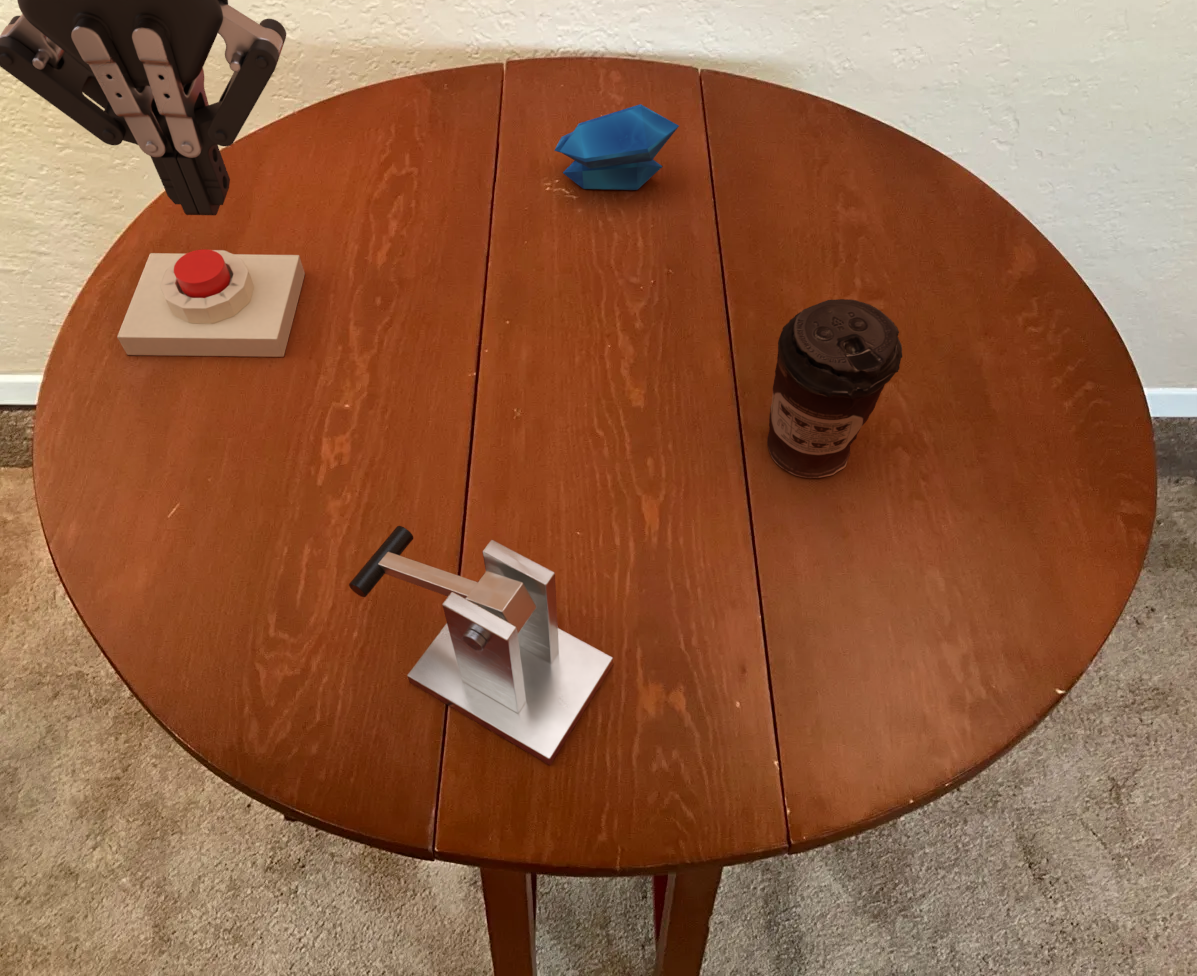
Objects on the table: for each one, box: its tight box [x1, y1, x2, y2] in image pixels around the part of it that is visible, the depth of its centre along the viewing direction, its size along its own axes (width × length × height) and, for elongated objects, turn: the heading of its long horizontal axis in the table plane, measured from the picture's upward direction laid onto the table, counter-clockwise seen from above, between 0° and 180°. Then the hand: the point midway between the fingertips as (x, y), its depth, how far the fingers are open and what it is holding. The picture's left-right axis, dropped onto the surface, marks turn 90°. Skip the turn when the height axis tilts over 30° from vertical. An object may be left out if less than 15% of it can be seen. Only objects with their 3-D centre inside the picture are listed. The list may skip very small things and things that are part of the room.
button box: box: [117, 249, 306, 358], centre depth 81 cm, size 13×10×4 cm
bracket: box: [406, 539, 614, 766], centre depth 59 cm, size 11×8×12 cm
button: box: [174, 248, 230, 298], centre depth 79 cm, size 4×4×2 cm
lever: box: [348, 525, 536, 633], centre depth 59 cm, size 12×5×2 cm, turn 60°
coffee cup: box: [766, 298, 903, 479], centre depth 70 cm, size 9×8×13 cm
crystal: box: [553, 103, 680, 191], centre depth 90 cm, size 7×9×12 cm
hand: (205, 204), depth 50 cm, fingers closed
